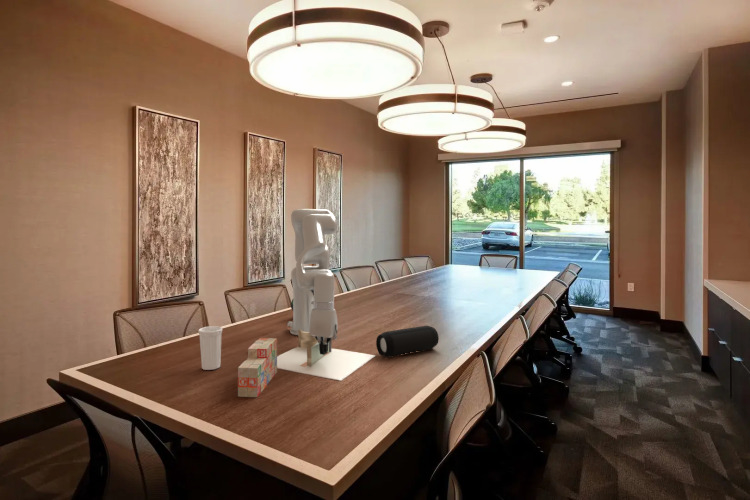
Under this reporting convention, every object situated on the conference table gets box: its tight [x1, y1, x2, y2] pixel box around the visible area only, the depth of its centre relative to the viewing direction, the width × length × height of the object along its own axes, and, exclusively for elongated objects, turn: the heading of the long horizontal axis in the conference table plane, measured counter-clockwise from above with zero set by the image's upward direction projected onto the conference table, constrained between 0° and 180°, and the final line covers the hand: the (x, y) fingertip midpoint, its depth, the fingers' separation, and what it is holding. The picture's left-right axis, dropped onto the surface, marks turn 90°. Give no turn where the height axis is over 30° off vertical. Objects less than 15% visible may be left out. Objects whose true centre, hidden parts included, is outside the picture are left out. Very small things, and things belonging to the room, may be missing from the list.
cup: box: [197, 325, 223, 371], centre depth 148 cm, size 8×8×14 cm
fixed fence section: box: [297, 329, 333, 352], centre depth 170 cm, size 16×2×8 cm, turn 66°
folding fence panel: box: [307, 343, 329, 366], centre depth 157 cm, size 18×2×6 cm, turn 163°
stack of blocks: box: [237, 337, 278, 398], centre depth 135 cm, size 21×6×12 cm, turn 178°
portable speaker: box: [375, 325, 439, 358], centre depth 168 cm, size 26×10×10 cm, turn 121°
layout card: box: [277, 346, 376, 382], centre depth 158 cm, size 34×28×1 cm
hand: (323, 353), depth 155 cm, fingers closed
